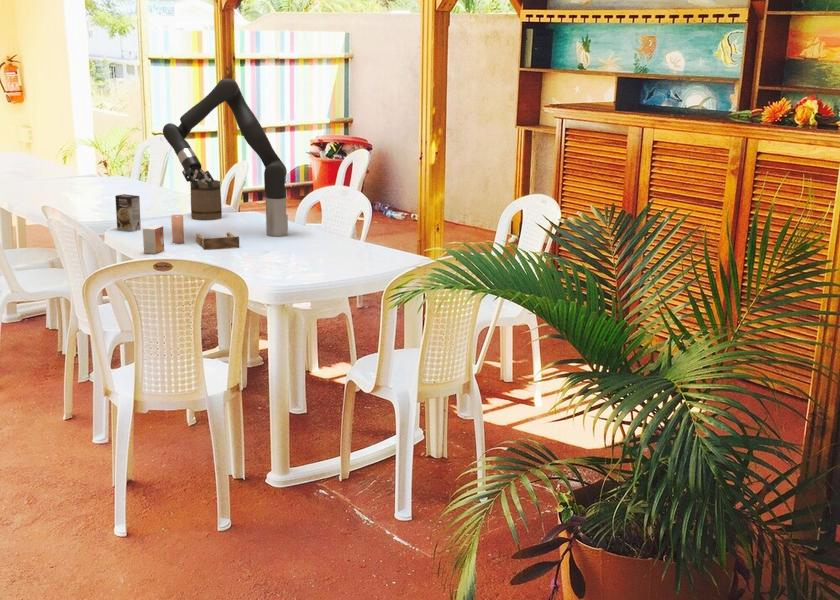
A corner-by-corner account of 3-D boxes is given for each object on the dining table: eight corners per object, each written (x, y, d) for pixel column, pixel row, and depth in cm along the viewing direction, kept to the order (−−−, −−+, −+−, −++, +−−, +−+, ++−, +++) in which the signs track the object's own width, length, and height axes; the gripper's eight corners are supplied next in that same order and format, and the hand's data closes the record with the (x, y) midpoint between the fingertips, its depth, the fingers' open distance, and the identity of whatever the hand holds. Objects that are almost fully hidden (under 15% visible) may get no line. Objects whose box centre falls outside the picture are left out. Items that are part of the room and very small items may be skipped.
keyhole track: (230, 239, 425) (229, 229, 424) (239, 247, 409) (239, 236, 408) (196, 241, 419) (195, 231, 418) (204, 249, 403) (204, 239, 402)
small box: (156, 254, 393) (154, 229, 390) (143, 253, 394) (142, 228, 391) (164, 250, 400) (163, 225, 398) (152, 249, 401) (151, 225, 399)
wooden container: (210, 214, 484) (209, 170, 478) (227, 218, 474) (226, 174, 468) (185, 217, 474) (183, 173, 468) (202, 221, 464) (200, 176, 458)
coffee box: (116, 230, 438) (114, 195, 434) (125, 227, 444) (123, 193, 440) (132, 232, 435) (130, 197, 431) (141, 229, 441) (139, 195, 437)
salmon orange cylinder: (183, 241, 418) (181, 214, 415) (185, 243, 414) (184, 216, 411) (171, 242, 416) (170, 215, 413) (173, 244, 412) (172, 217, 409)
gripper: (181, 153, 410) (197, 182, 405) (206, 157, 422) (222, 184, 417) (172, 165, 414) (188, 193, 408) (196, 168, 425) (212, 195, 420)
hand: (205, 189), depth 413 cm, fingers open, 8 cm apart
